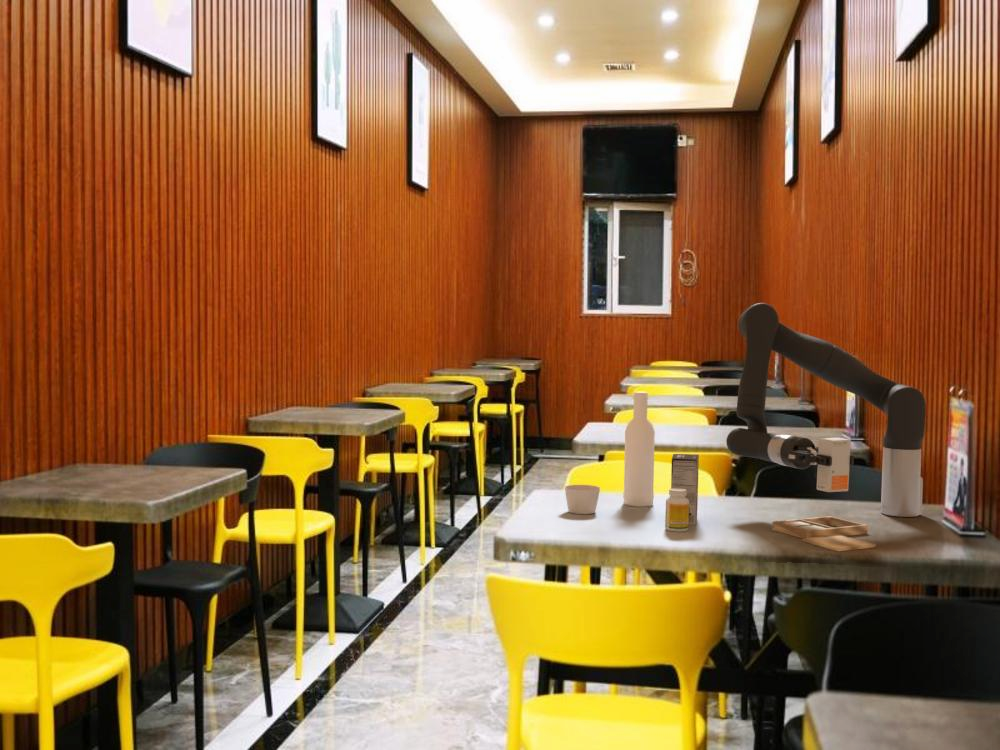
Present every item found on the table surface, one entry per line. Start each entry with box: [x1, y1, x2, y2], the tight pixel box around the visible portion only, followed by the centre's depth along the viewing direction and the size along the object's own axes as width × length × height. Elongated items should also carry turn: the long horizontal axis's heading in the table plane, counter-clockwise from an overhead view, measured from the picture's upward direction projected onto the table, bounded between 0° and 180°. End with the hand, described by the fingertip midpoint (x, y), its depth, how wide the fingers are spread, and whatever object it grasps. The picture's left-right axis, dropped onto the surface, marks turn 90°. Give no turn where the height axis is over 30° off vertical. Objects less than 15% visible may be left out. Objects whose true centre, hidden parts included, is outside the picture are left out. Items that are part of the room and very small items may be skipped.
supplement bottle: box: [664, 487, 689, 533], centre depth 242 cm, size 5×5×10 cm
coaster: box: [801, 535, 877, 552], centre depth 228 cm, size 11×11×1 cm
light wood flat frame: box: [772, 515, 869, 539], centre depth 242 cm, size 18×12×2 cm, turn 117°
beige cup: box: [564, 484, 601, 515], centre depth 263 cm, size 9×9×6 cm
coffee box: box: [670, 453, 700, 526], centre depth 252 cm, size 9×6×16 cm
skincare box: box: [816, 437, 852, 493], centre depth 237 cm, size 6×4×12 cm
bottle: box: [622, 391, 656, 508], centre depth 275 cm, size 8×8×30 cm
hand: (841, 460), depth 234 cm, fingers closed on skincare box, 6 cm apart
